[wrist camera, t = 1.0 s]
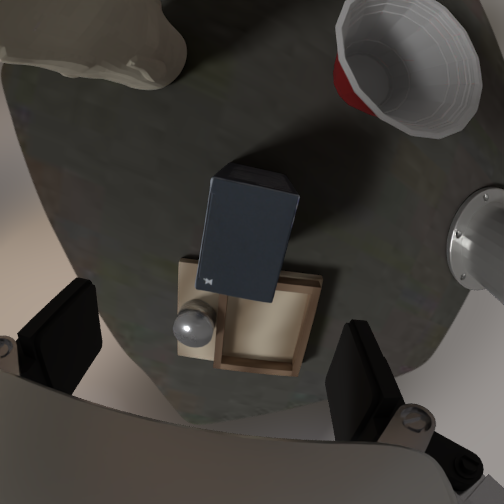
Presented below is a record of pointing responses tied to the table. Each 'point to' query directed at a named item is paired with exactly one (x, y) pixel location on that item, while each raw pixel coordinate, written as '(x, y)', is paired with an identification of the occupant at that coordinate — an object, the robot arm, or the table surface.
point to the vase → (94, 40)
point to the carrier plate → (247, 324)
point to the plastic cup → (407, 65)
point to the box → (246, 232)
